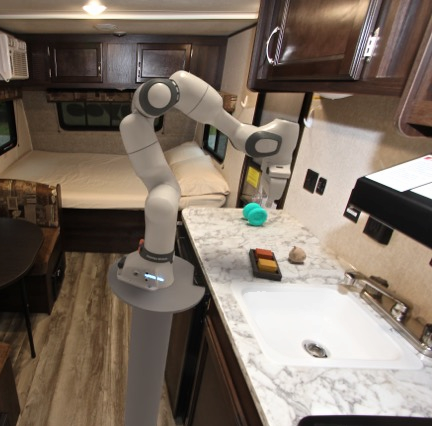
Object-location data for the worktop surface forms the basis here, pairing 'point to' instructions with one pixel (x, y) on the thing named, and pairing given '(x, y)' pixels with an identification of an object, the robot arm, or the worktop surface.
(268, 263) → the yellow-orange rectangular block
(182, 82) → the robot arm
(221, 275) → the worktop surface
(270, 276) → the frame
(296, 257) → the garlic bulb
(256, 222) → the turquoise spool
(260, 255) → the orange-red rectangular block
